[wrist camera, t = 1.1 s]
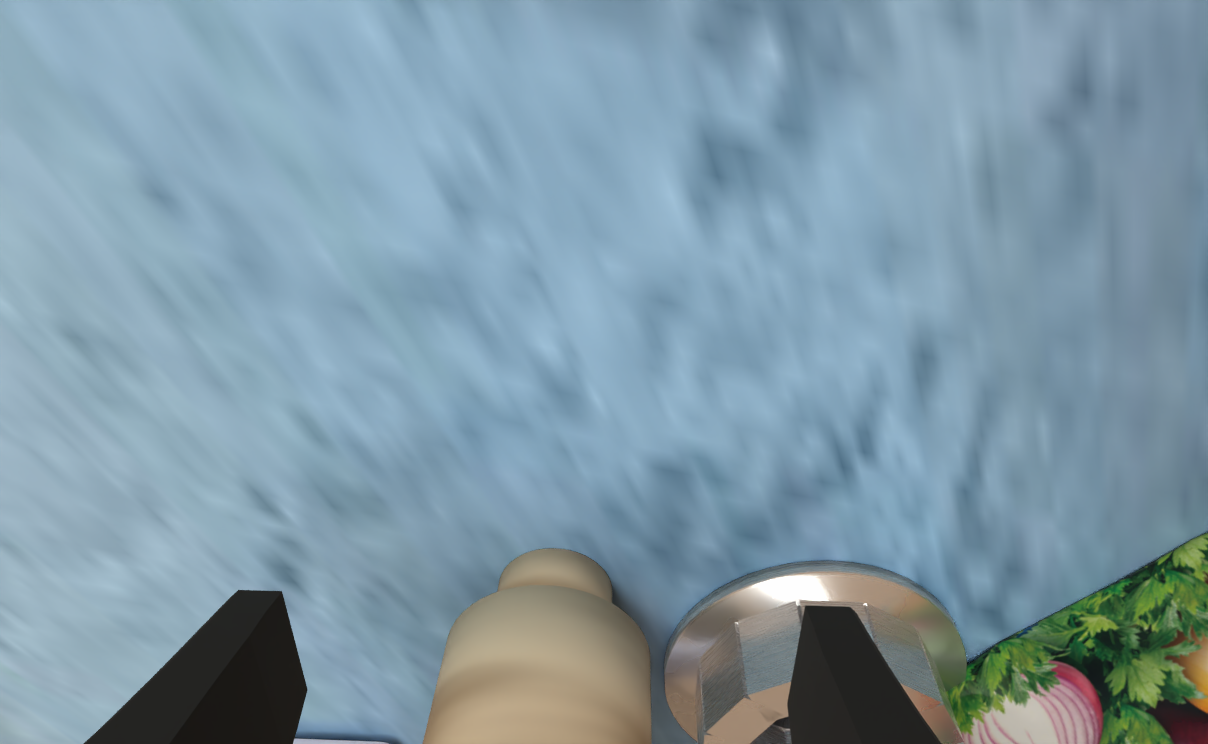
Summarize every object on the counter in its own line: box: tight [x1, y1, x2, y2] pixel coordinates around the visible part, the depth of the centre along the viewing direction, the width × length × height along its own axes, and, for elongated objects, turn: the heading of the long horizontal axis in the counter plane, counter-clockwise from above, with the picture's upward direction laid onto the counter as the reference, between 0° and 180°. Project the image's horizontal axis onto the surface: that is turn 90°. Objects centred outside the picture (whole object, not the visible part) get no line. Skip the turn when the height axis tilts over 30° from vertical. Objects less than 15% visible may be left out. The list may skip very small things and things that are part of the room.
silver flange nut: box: [664, 561, 967, 744], centre depth 26 cm, size 9×9×3 cm
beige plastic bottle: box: [423, 548, 651, 744], centre depth 23 cm, size 6×6×8 cm
